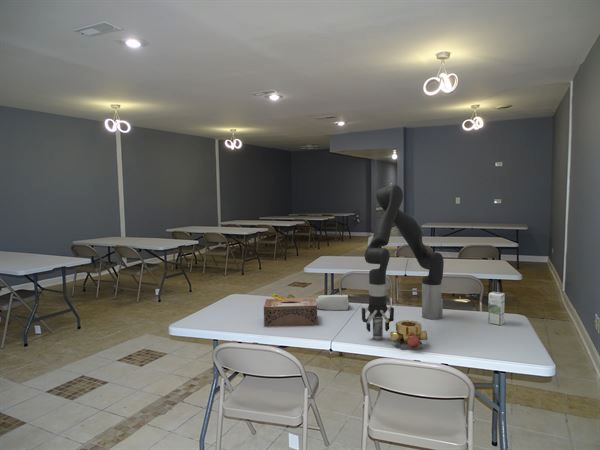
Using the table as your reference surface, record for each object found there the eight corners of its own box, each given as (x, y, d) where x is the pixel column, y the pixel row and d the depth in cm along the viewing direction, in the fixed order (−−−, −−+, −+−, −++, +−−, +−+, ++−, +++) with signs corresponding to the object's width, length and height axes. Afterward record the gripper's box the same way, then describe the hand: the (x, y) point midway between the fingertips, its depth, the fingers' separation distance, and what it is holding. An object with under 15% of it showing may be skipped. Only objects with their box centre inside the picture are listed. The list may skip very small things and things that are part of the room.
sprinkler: (288, 312, 222) (307, 302, 239) (287, 300, 221) (305, 291, 238) (256, 310, 233) (275, 301, 250) (254, 299, 233) (274, 290, 250)
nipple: (381, 336, 181) (381, 316, 180) (383, 339, 177) (383, 319, 176) (371, 336, 181) (371, 316, 180) (373, 340, 177) (373, 319, 176)
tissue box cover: (264, 327, 198) (263, 306, 197) (266, 318, 212) (265, 299, 212) (317, 325, 198) (317, 305, 197) (316, 316, 213) (315, 297, 212)
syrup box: (504, 322, 196) (505, 292, 195) (500, 325, 192) (501, 295, 190) (492, 320, 200) (492, 291, 199) (487, 323, 195) (488, 293, 194)
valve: (422, 340, 175) (422, 319, 174) (431, 351, 163) (431, 329, 162) (388, 341, 175) (388, 320, 174) (395, 352, 163) (395, 330, 162)
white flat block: (309, 294, 248) (307, 295, 223) (346, 294, 246) (349, 294, 222) (309, 308, 246) (307, 310, 222) (347, 308, 245) (349, 310, 220)
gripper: (391, 291, 181) (392, 327, 182) (359, 291, 181) (359, 328, 182) (396, 295, 174) (396, 333, 175) (362, 296, 173) (362, 334, 175)
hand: (377, 330), depth 179 cm, fingers open, 7 cm apart
